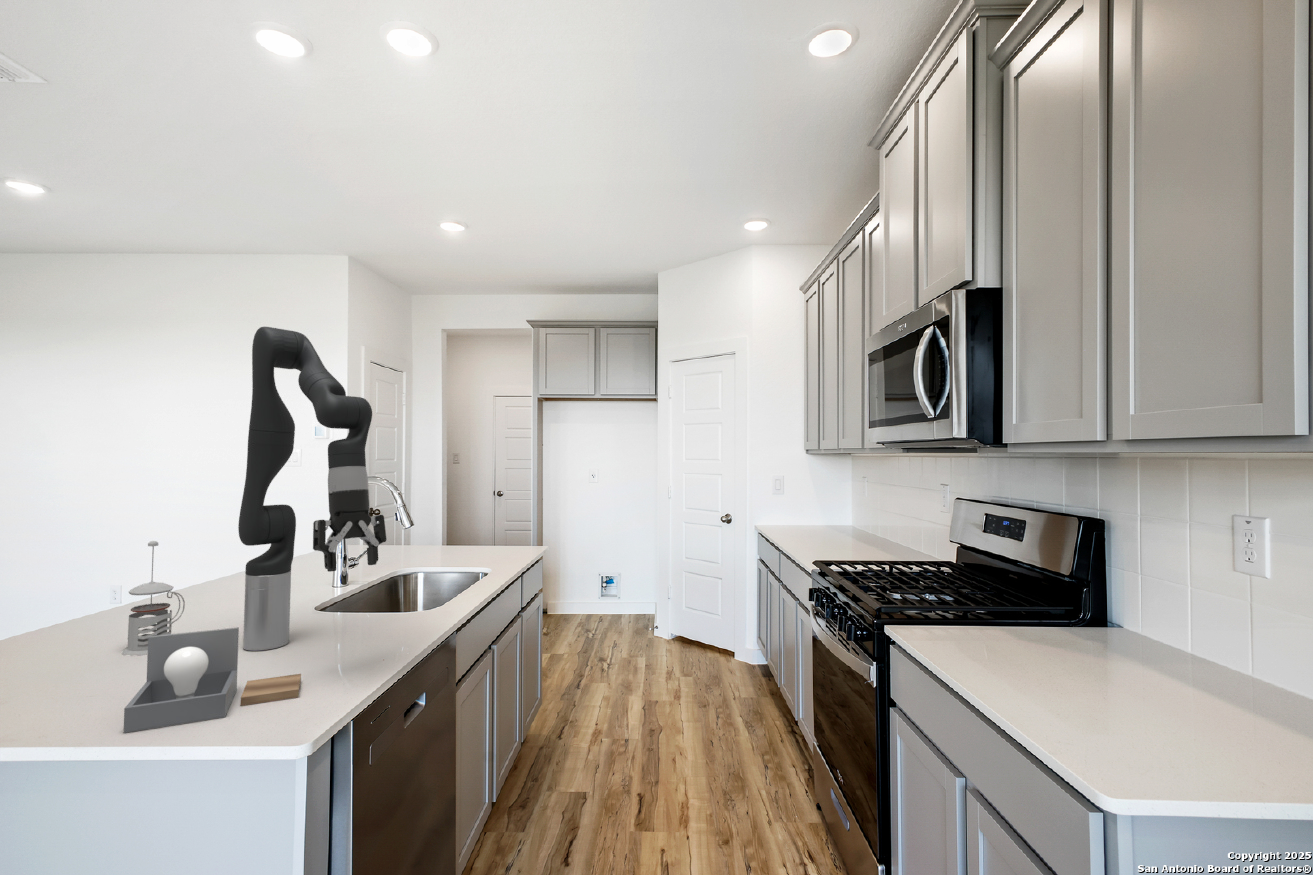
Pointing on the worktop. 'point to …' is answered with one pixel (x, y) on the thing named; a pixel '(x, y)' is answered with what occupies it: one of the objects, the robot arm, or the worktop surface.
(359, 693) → the worktop surface
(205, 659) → the lightbulb
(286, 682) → the stand
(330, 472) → the robot arm
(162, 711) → the case
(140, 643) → the french press
